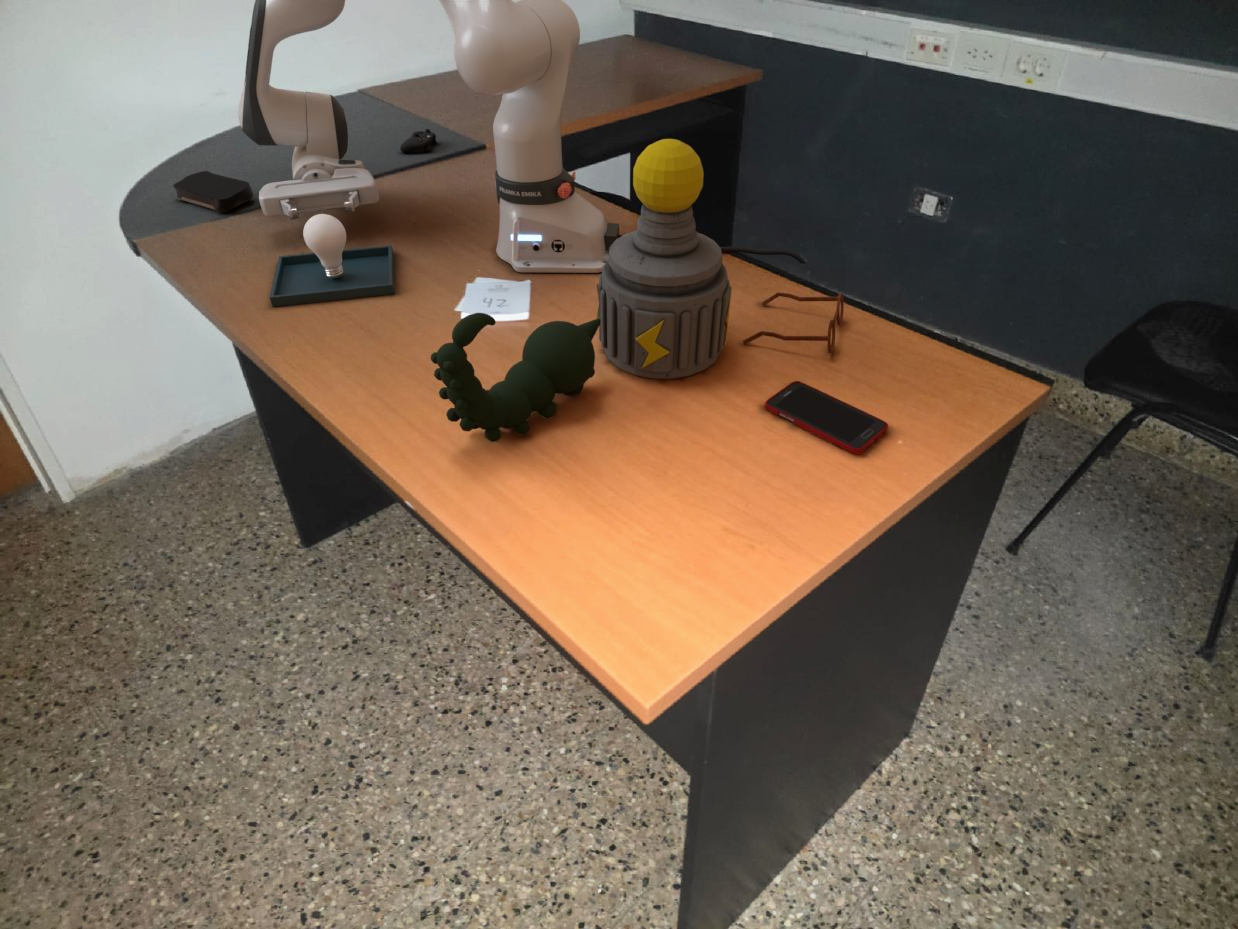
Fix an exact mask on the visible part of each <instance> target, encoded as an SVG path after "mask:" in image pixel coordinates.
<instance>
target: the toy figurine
mask: <svg viewBox="0 0 1238 929" xmlns="http://www.w3.org/2000/svg"><path fill="white" fill-rule="evenodd" d="M496 323H497V321H496V320H495V318H494V317H493V316H491V315H490V314H488V313H484V312H474V313H470V314H468V315H466V316H464V317H463V318H462V319H460V320H459V321H458V322H456V324H455V325H454V327H453V329H452V333H451V339H452V342H447V343H444V344H443V345H441V346H440V347H439V348H438V349H437V351H435V352H433V353H431V355H430V361H431V362H432V363H433V364H435V365H437V366H438V368H436V369H435V370H434V372H433V376H434V378H435V379H436V380H437V381H440V382H442V383H443V384H444V387H441V388H440V389H439V391H438V395H439V398H441V399H442V400H449V401H450V402H451V404H453V405H454V407H450V408H449V409H448V410H447V411H446V415H445V416H446V418H447V420H448V421H449V422H451V423H453V422H455V423H457V422H459V421H460V422H459V423H458V424H459V427H460V429H461V430H462V431H464V432H470V431H472V430H477V429H481V430H482V431H484V438H485V439H487V440H488V441H489V442H490V443H496V442H498V441H499V440H500V439H501V438H502V430H501V429H502V428H503V429H513V430H514V432H515V433H516V434H517V435H520V436H522V435H527V434H528V433H529V431H530V429H531V426H530V423H529V421H528V420H529V419H530V418H531V416H532V414H533V413H536V412H537V414H538V415H540V416H541V417H543V419H546V420H549V419H551V418H554V417H555V415H556V414H557V412H558V405H557V403H556V402H554V398H556V394H557V395H560V394H563V395H565V396H570V397H575V396H577V395H580V394H581V393H582V391H583V390H584V387H585V383H587V382H588V380H590V379H591V378H593V377H594V376H595V374H596V373H595V372H596V370H595V362H596V353H595V348H594V344H593V342H592V341H593V339H594V337H595V335H596V333H597V331H598V330H599V325H600V323H601V320H600V319H596V318H595V319H592V320H590V321H587V322H584V323H581V324H579V325H577V324H575V323H572V322H570V321H564V320H553V321H549V322H546V323H543V324H541V325H540V326H538V327H537V328H535V329H534V330H533V331H532V332H531V333H530V334H529V336H528V337H527V338H526V340H525V342H524V344H523V348H522V349H523V350H522V354H521V355H522V356H521V360H520V361H518V362H516V363H515V364H513V365H512V366H511V367H510V368H509V369H508V370H507V372H506V375H505V377H504V379H503V380H501V381H499V382H496V383H494V384H493V385H492V386H491V387H490V389H485V388H484V387H483V384H482V382H481V381H480V379H479V378H478V377H477V375H475V369H474V367H473V364H472V363H471V361H469V360H468V354H467V351H466V350H465V348H464V347H467V346H469V345H470V344H471V343H473V342H474V340H475V339H476V337H477V336H478V334H479V333H480V332H481V331H482V330H483V329H484V328H486V327H487V326H495V325H496Z"/></svg>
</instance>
